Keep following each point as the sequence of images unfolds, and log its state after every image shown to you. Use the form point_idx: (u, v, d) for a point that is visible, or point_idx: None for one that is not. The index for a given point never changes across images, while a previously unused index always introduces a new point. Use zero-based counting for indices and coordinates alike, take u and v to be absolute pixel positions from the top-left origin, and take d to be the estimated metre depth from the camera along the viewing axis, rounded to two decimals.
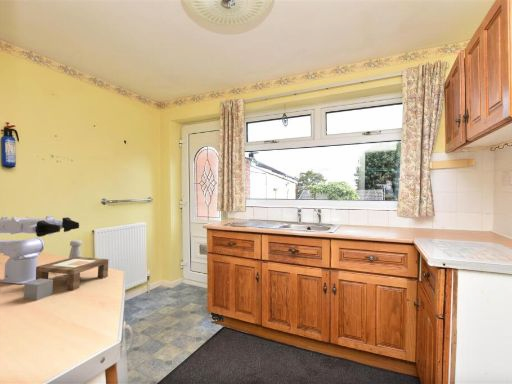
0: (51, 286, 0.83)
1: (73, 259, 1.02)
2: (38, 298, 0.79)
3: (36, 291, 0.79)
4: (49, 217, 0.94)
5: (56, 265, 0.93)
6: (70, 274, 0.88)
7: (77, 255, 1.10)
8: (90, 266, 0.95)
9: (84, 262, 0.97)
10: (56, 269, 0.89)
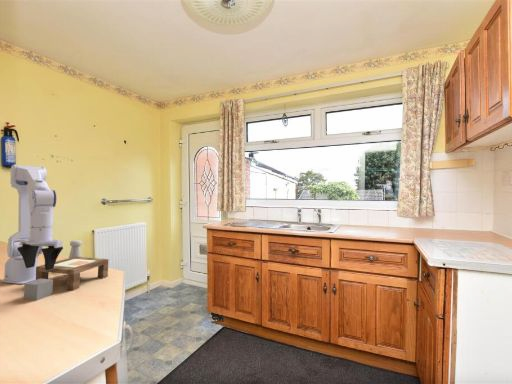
0: (51, 286, 0.83)
1: (73, 259, 1.02)
2: (38, 298, 0.79)
3: (36, 291, 0.79)
4: (29, 244, 0.79)
5: (56, 265, 0.93)
6: (70, 274, 0.88)
7: (77, 255, 1.10)
8: (90, 266, 0.95)
9: (84, 262, 0.97)
10: (56, 269, 0.89)
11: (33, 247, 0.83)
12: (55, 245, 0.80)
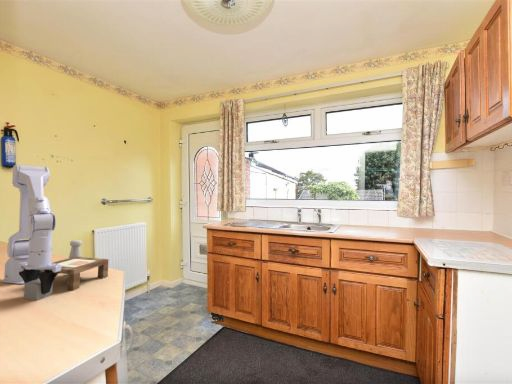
0: (51, 286, 0.83)
1: (73, 259, 1.02)
2: (38, 298, 0.79)
3: (36, 291, 0.79)
4: None
5: None
6: (70, 274, 0.88)
7: (77, 255, 1.10)
8: (90, 266, 0.95)
9: (84, 262, 0.97)
10: None
11: (34, 271, 0.83)
12: (54, 270, 0.80)
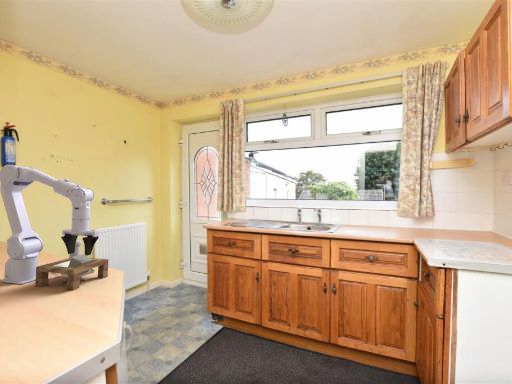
0: None
1: None
2: None
3: None
4: None
5: None
6: (70, 274, 0.88)
7: (77, 255, 1.10)
8: (90, 266, 0.95)
9: None
10: (56, 269, 0.89)
11: (73, 236, 0.98)
12: (93, 234, 0.95)
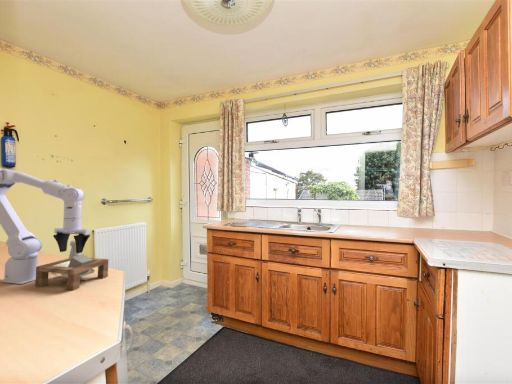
0: None
1: None
2: None
3: None
4: (63, 231, 0.97)
5: None
6: (70, 274, 0.88)
7: (77, 255, 1.10)
8: (90, 266, 0.95)
9: None
10: (56, 269, 0.89)
11: (65, 235, 1.01)
12: (84, 233, 0.98)
